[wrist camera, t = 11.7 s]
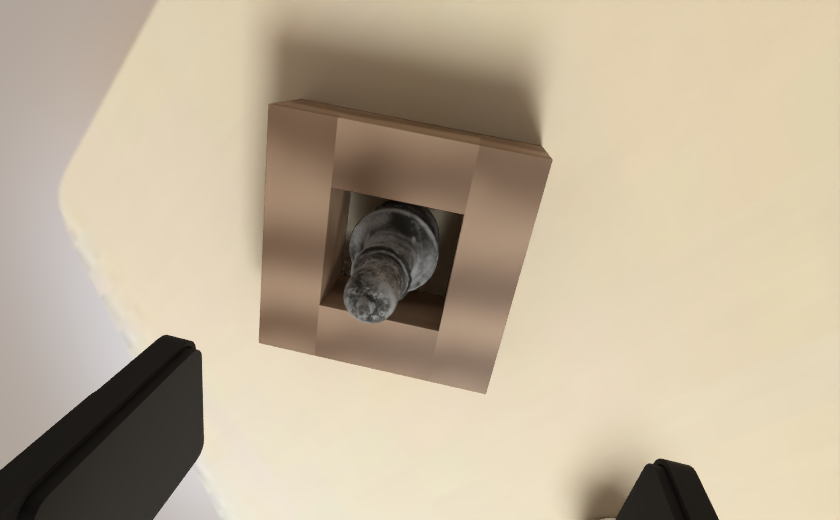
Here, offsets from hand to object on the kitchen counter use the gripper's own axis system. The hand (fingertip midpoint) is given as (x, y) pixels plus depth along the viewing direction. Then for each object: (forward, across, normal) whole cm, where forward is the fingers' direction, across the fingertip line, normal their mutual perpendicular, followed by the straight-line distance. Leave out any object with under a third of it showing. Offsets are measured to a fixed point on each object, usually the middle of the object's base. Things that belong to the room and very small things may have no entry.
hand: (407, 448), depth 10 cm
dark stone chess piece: (+24, +4, +5) cm, 24 cm away
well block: (+23, +4, +5) cm, 24 cm away
